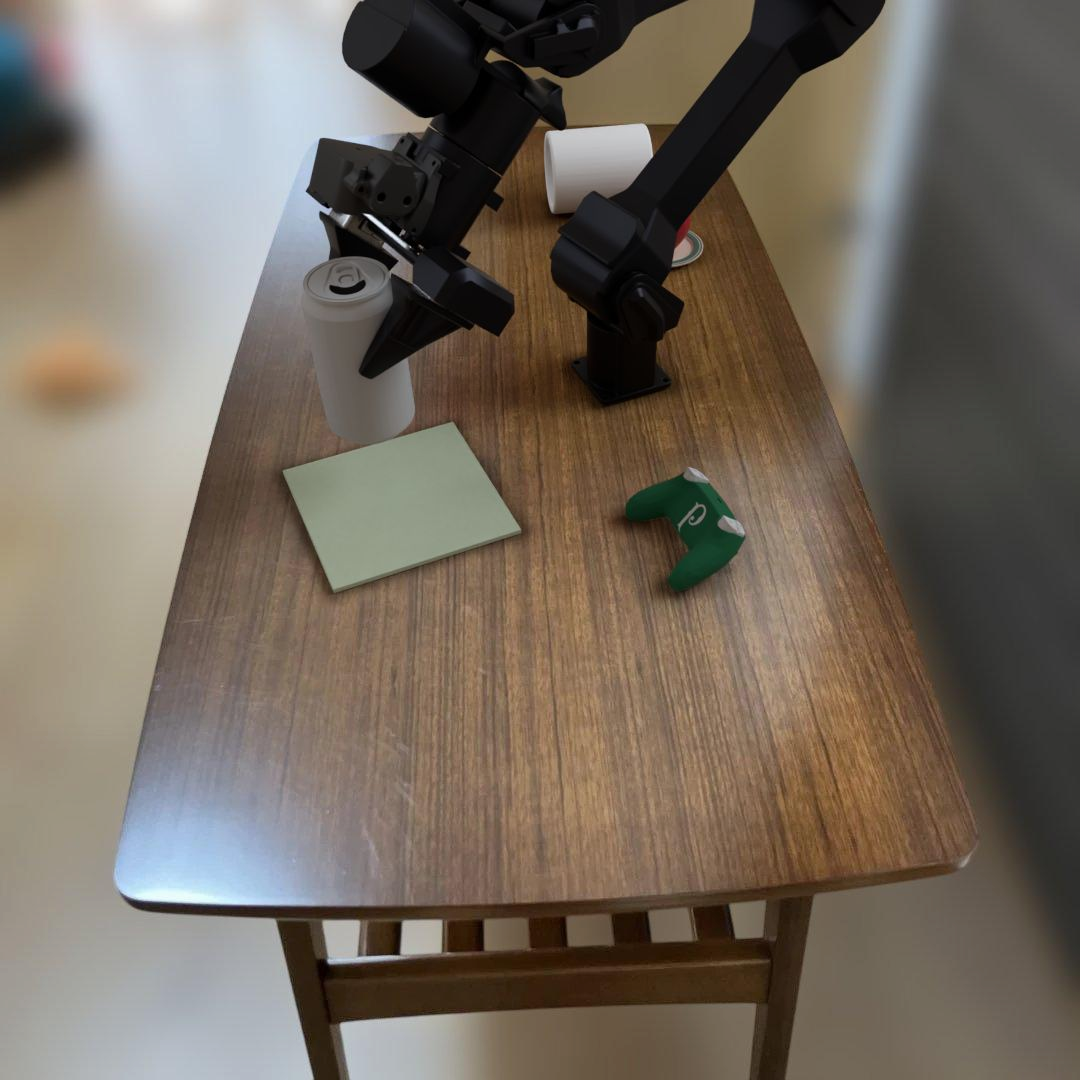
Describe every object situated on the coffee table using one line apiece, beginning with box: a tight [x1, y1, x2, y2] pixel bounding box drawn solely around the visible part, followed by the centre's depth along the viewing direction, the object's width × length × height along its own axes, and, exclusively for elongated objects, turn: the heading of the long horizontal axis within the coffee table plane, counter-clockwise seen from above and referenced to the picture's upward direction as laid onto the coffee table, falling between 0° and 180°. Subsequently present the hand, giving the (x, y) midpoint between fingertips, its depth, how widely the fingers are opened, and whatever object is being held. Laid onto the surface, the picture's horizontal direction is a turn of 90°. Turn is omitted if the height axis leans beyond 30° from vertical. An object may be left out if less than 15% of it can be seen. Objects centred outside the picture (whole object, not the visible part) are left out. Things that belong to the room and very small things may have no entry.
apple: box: [671, 213, 704, 268], centre depth 107 cm, size 8×8×6 cm
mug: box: [543, 123, 654, 215], centre depth 115 cm, size 12×10×8 cm
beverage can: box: [300, 256, 416, 445], centre depth 77 cm, size 6×6×12 cm
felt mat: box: [282, 421, 522, 594], centre depth 83 cm, size 14×14×1 cm
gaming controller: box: [624, 466, 747, 593], centre depth 78 cm, size 9×4×6 cm
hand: (341, 353), depth 76 cm, fingers closed on beverage can, 6 cm apart
